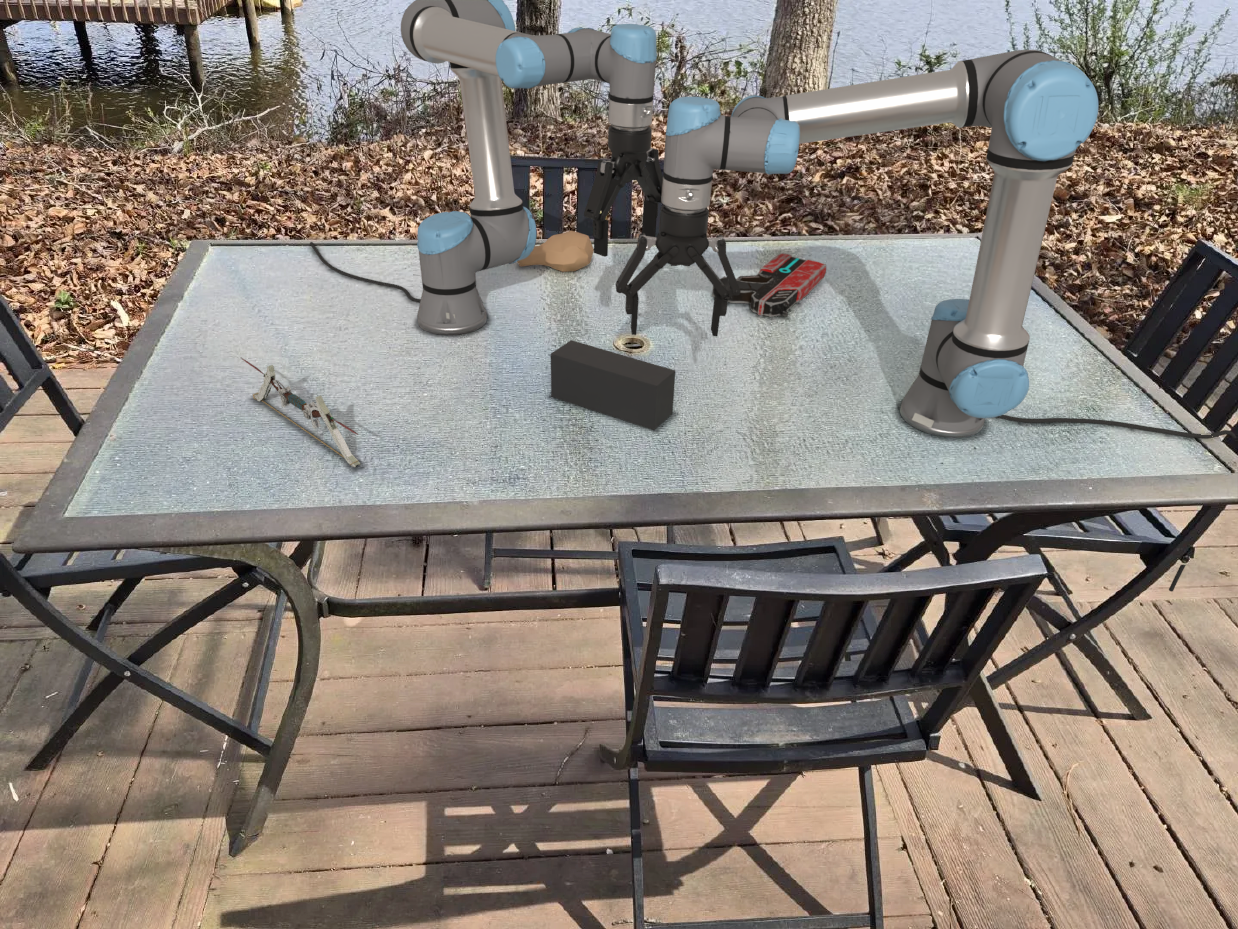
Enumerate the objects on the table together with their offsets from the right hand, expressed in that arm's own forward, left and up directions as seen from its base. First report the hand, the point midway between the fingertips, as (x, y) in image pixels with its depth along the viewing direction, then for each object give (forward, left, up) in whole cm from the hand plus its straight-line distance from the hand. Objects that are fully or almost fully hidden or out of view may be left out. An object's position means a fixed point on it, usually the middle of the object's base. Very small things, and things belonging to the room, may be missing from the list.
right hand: (673, 332), depth 147 cm
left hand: (+7, -24, +6) cm, 26 cm away
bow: (+65, -2, -21) cm, 68 cm away
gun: (-31, -68, -21) cm, 78 cm away
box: (+10, -12, -21) cm, 26 cm away
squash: (+22, -83, -21) cm, 88 cm away
